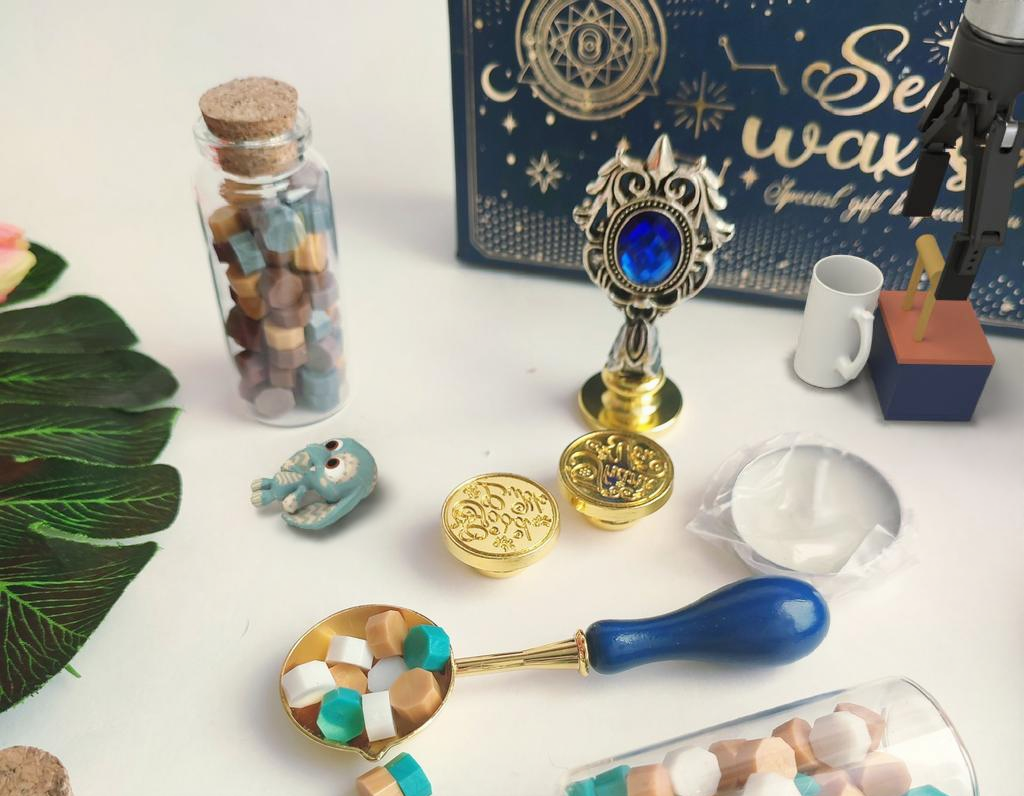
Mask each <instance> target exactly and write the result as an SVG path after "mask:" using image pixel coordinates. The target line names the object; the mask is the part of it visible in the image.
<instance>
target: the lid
mask: <svg viewBox="0 0 1024 796" xmlns="http://www.w3.org/2000/svg"><path fill="white" fill-rule="evenodd" d="M915 247H916V250H917V252H918V253H917V258H916V261H915V264H914V267H913V270H912V273H911V276H910V280H909V283H908V286H907V288H906V290H881V291H880V294H879V298H878V301H877V306H878V305H879V308H880V311H881V314H882V317H883V320H884V323H885V326H886V329H887V332H888V335H889V338H890V341H891V344H892V347H893V350H894V353H895V356H896V359H897V362H898V364H940V365H993V366H994V365H995V362H996V358H995V355H994V353H993V351H992V348H991V345H990V344H989V341H988V339H987V336H986V334H985V331H984V330H983V328H982V325H981V323H980V321H979V319H978V316H977V313H976V311H975V309H974V307H973V304H972V302H971V299H970V297H969V296H968V298H967V301H951V300H936V299H935V296H934V294H935V291H936V288H937V285H938V282H939V280H940V277H941V274H942V271H943V268H944V265H945V263H946V260H945V258H944V257H943V254H942V252H941V250H940V247H939V245H938V242H937V240H936V238H935V236H934V235H932V234H929V233H927V234H923V235H920V236H919V237H918V238H917V240H916V241H915ZM924 270H925V273H926V275H927V278H928V280H929V283H930V285H929V288H928V291H927V290H924V291H923V290H918V287H919V284H920V281H921V278H922V275H923V271H924Z"/></svg>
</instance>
